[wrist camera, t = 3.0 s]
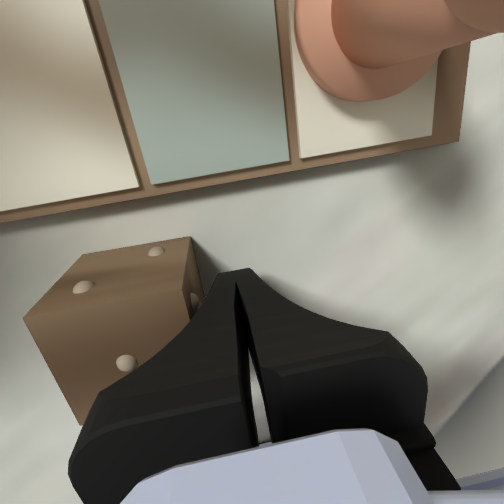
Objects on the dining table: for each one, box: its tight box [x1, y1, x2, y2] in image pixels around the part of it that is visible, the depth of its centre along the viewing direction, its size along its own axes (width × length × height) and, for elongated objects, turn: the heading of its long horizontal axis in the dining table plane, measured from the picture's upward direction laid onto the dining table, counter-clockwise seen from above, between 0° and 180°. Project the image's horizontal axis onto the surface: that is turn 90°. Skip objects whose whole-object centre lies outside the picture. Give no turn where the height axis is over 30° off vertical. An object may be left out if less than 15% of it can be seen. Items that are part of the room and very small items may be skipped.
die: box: [23, 236, 205, 426], centre depth 10 cm, size 4×4×4 cm
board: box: [0, 0, 471, 223], centre depth 9 cm, size 8×22×1 cm, turn 99°
